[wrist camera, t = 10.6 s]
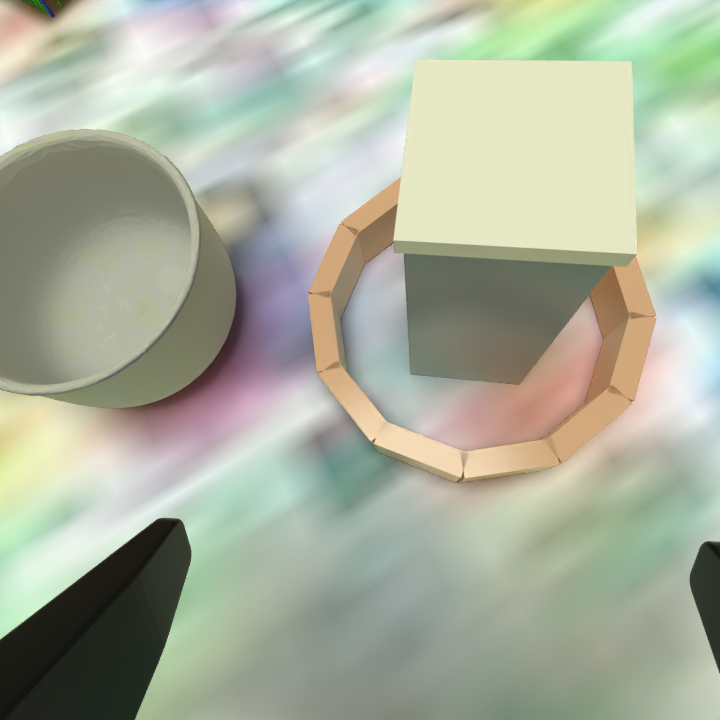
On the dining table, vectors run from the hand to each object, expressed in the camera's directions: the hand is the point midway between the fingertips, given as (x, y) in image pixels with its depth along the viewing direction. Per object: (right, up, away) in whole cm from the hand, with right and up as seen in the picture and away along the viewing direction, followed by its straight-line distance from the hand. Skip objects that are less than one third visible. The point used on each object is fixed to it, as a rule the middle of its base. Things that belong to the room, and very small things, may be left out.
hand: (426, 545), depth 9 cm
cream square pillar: (+4, +5, +15) cm, 17 cm away
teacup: (-13, +5, +18) cm, 22 cm away
